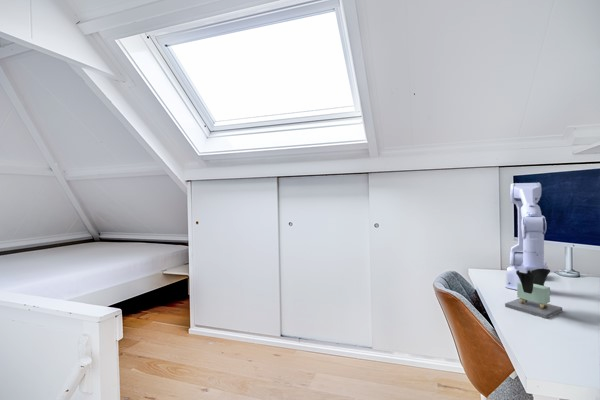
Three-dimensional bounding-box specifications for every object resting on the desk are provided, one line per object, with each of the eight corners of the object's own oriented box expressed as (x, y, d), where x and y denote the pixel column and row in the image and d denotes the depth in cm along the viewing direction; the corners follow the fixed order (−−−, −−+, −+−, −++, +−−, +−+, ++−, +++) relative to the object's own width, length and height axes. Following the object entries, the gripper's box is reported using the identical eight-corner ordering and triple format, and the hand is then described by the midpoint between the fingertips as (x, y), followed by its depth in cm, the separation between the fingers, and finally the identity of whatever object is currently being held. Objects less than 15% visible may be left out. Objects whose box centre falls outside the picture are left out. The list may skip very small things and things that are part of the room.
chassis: (505, 306, 108) (505, 297, 108) (522, 300, 114) (522, 291, 114) (545, 318, 98) (545, 308, 98) (562, 310, 104) (562, 301, 104)
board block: (517, 297, 108) (517, 283, 108) (523, 295, 110) (523, 281, 110) (544, 304, 101) (544, 289, 101) (549, 302, 103) (549, 287, 103)
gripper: (536, 255, 98) (536, 297, 99) (557, 251, 106) (556, 290, 106) (512, 252, 105) (512, 292, 105) (533, 248, 112) (533, 285, 112)
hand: (533, 290), depth 106 cm, fingers open, 7 cm apart
